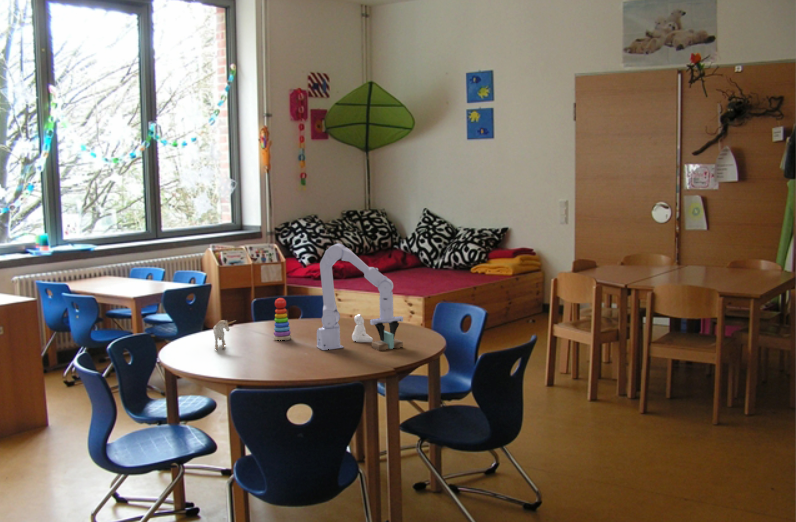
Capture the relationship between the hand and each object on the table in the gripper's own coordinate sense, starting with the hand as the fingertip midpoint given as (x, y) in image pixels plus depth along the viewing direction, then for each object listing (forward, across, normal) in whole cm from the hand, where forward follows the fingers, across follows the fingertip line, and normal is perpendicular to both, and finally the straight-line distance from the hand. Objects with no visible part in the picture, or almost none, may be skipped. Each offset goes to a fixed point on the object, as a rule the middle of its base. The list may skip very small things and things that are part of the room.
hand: (387, 339), depth 317 cm
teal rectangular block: (+3, 0, 0) cm, 3 cm away
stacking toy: (+3, -33, +40) cm, 52 cm away
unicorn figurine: (+3, -59, +36) cm, 69 cm away
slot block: (+3, 0, 0) cm, 3 cm away
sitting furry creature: (+4, -4, +18) cm, 19 cm away
